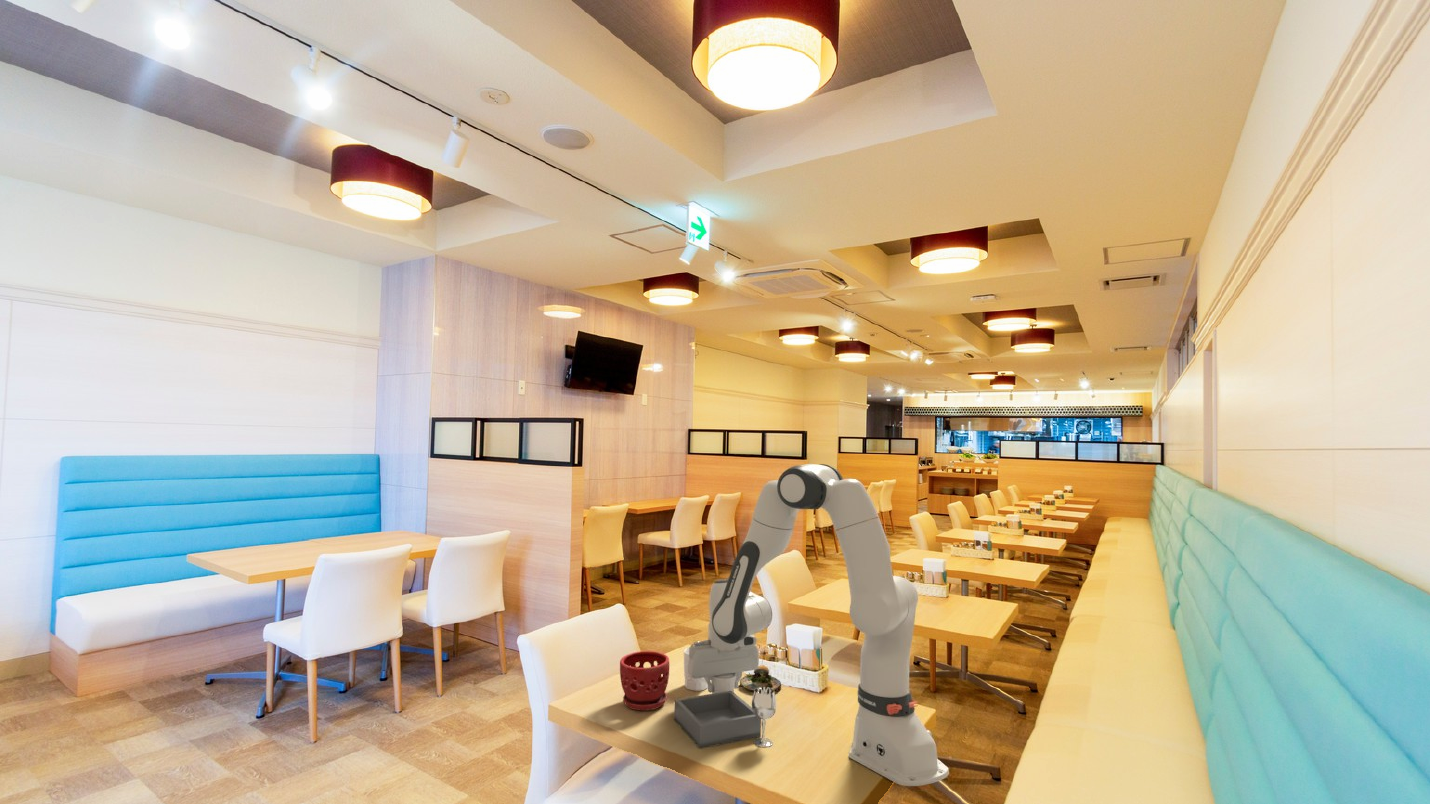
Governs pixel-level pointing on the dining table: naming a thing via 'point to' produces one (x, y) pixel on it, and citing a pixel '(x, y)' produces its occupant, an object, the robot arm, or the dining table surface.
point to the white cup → (690, 682)
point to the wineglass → (763, 710)
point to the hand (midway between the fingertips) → (723, 689)
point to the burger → (760, 679)
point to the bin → (716, 719)
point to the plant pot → (644, 680)
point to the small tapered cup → (724, 682)
